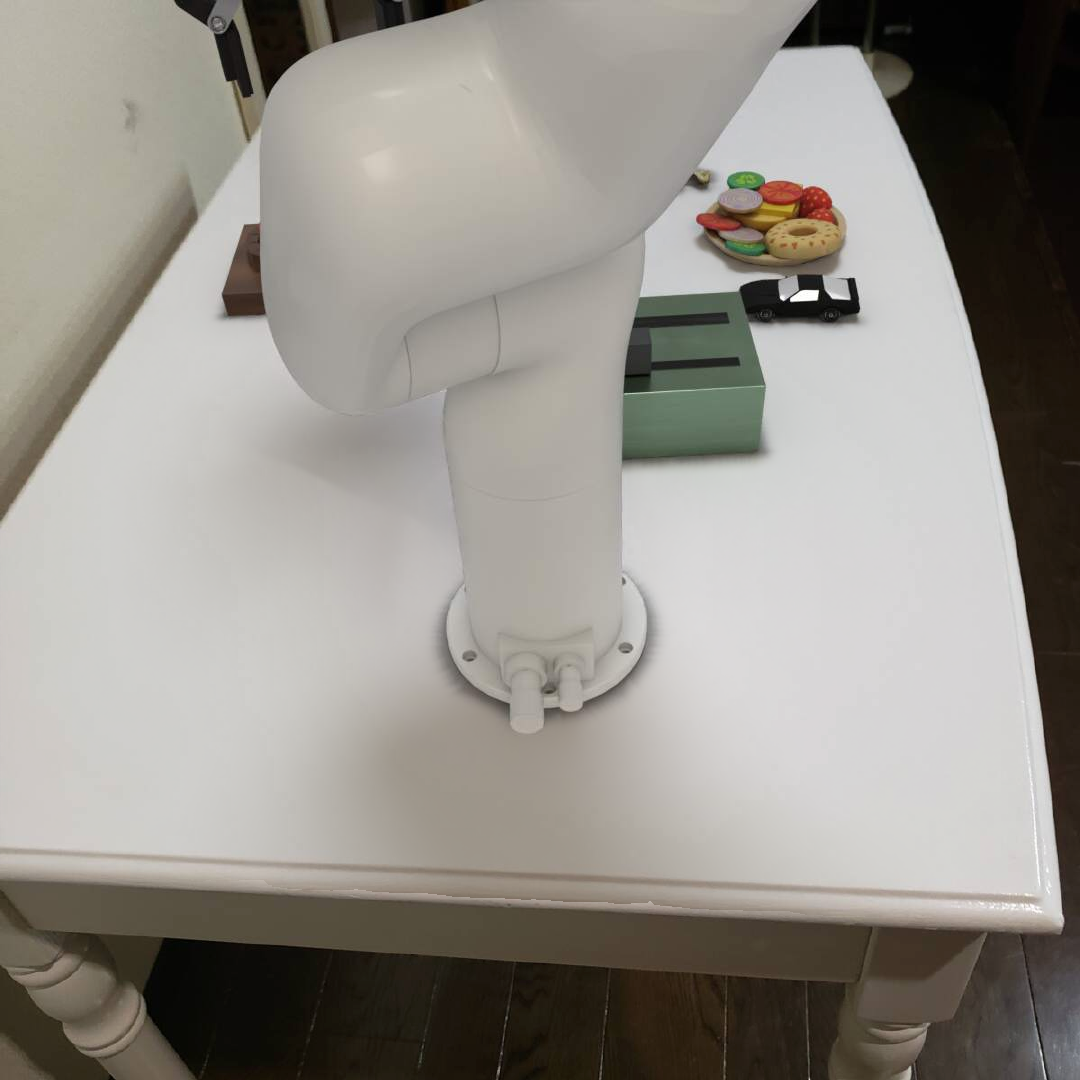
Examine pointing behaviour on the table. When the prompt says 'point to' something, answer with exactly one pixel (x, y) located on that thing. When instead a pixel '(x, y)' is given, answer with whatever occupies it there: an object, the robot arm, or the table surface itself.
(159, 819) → the table surface
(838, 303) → the toy car
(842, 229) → the toy food set
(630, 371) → the slider
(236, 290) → the control block
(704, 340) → the toaster
